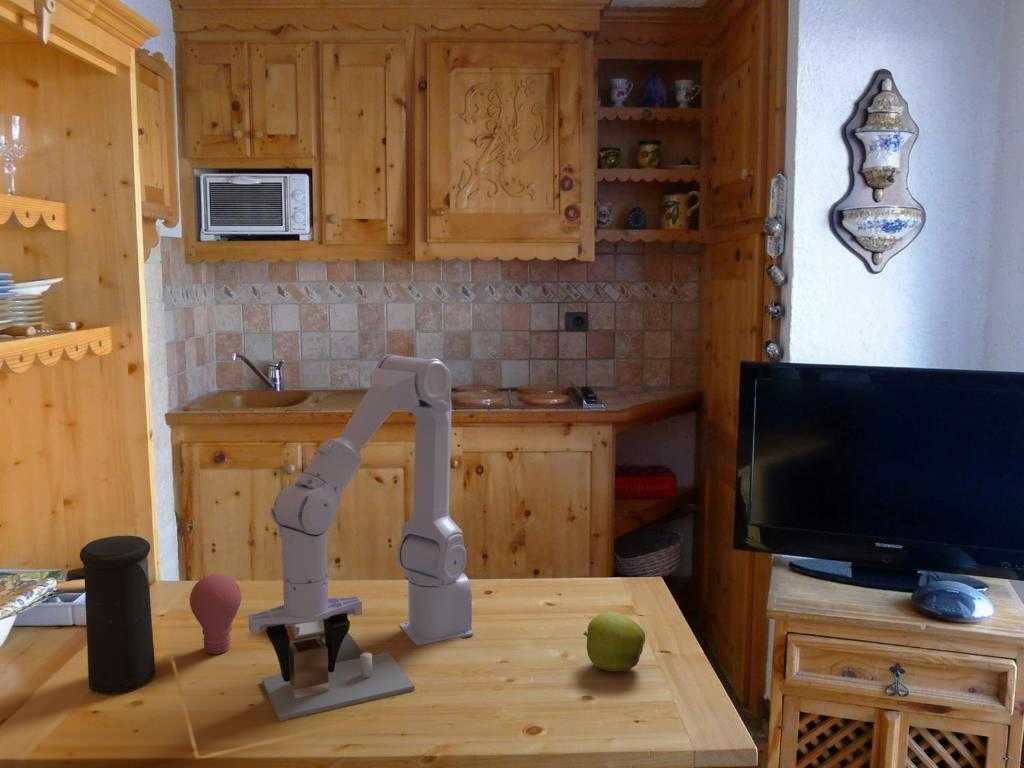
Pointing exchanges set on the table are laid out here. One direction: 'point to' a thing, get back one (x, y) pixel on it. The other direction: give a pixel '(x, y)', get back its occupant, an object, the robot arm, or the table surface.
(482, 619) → the table surface
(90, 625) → the container
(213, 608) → the light bulb
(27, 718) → the table surface
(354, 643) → the mat
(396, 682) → the pin board
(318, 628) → the feeder chute
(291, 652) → the sleeve
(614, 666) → the apple
